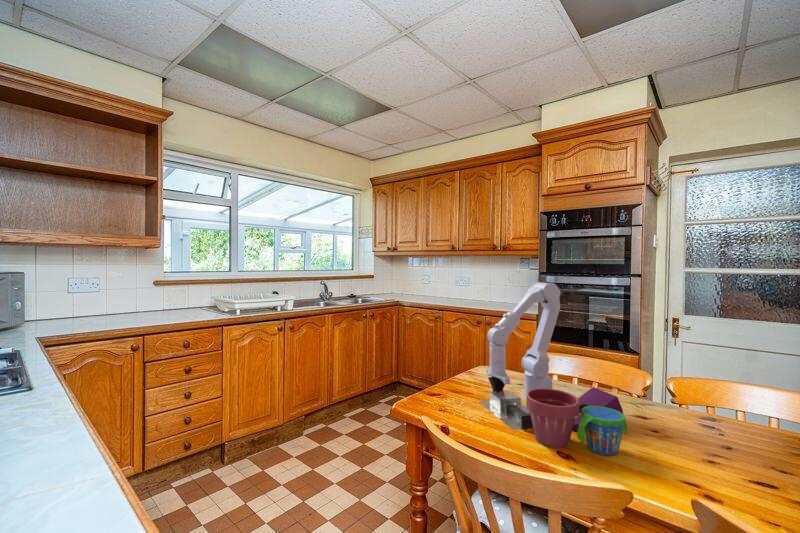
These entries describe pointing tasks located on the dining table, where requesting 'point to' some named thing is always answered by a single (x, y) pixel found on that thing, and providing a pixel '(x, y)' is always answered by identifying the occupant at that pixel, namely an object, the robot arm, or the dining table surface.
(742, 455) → the dining table surface
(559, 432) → the plant pot
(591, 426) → the snack cup
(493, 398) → the block
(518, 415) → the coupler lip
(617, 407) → the mounting bracket
